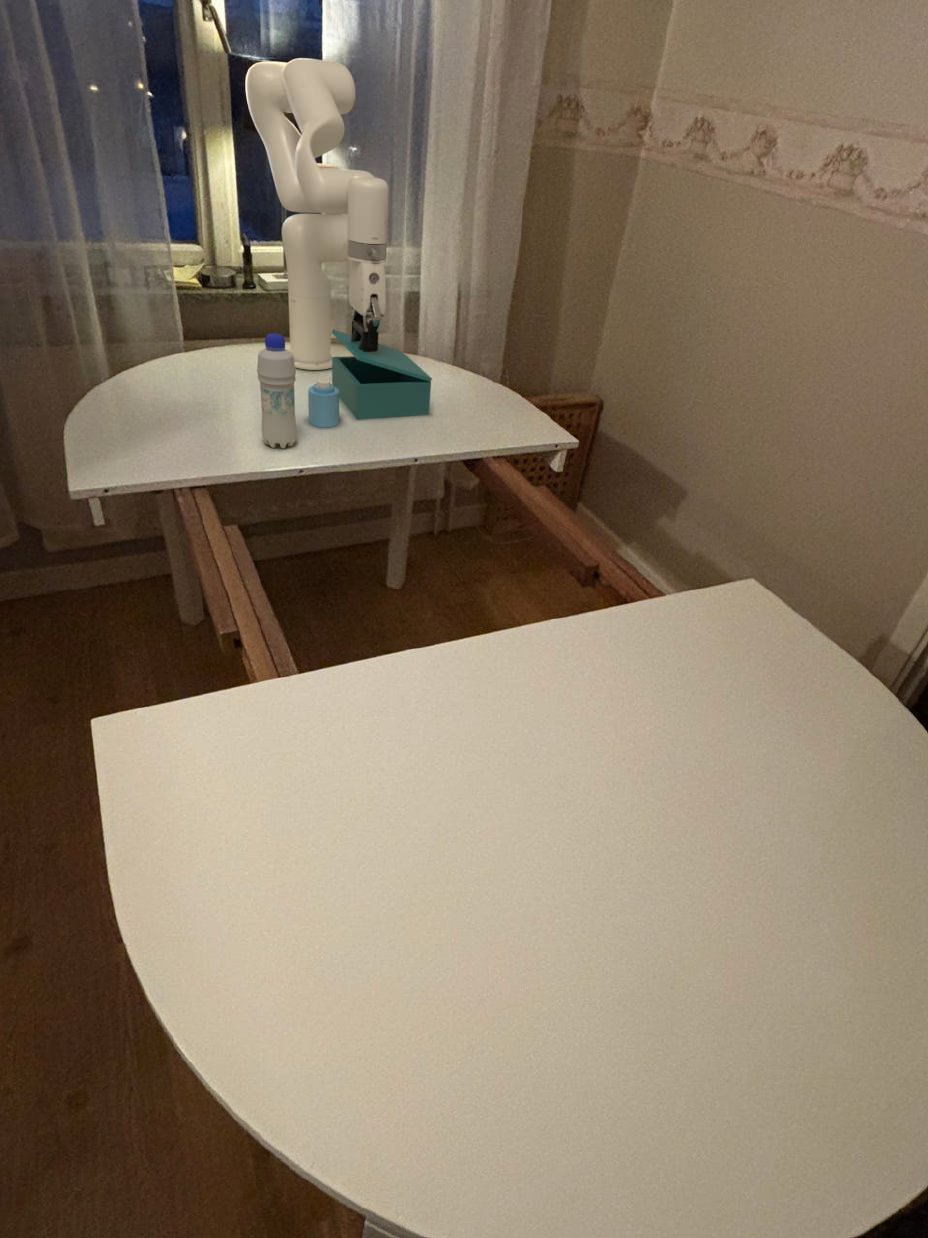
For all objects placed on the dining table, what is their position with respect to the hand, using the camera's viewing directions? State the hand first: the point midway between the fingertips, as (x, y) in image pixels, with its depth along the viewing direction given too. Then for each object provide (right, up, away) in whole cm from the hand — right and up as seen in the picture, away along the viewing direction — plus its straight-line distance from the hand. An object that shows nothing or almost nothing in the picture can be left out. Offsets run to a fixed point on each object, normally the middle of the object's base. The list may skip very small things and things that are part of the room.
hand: (364, 345), depth 153 cm
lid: (+3, -1, +3) cm, 4 cm away
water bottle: (-8, -17, -4) cm, 19 cm away
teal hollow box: (+2, -9, +9) cm, 13 cm away
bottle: (-14, -24, -14) cm, 31 cm away
